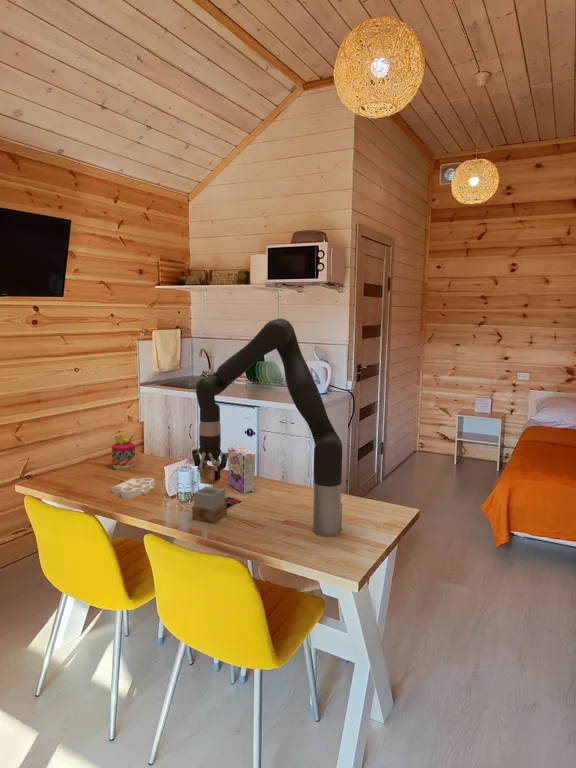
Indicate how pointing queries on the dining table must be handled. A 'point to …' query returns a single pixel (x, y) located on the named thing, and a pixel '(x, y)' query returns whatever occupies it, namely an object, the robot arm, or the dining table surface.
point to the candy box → (241, 469)
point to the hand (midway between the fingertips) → (210, 479)
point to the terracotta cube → (208, 475)
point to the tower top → (209, 498)
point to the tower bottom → (209, 514)
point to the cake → (123, 454)
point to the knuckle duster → (134, 487)
